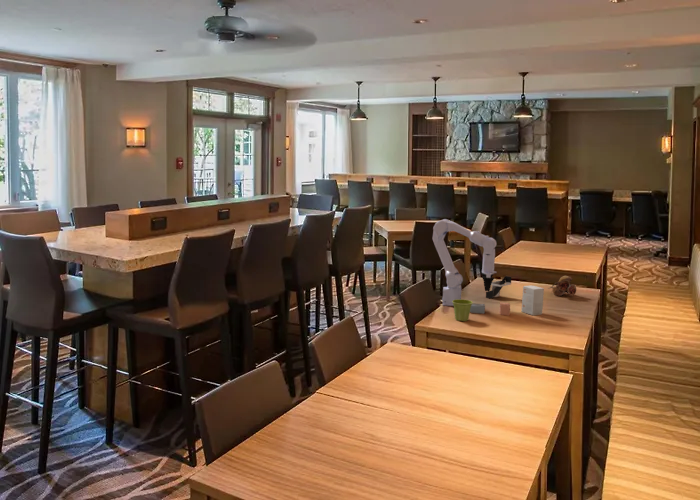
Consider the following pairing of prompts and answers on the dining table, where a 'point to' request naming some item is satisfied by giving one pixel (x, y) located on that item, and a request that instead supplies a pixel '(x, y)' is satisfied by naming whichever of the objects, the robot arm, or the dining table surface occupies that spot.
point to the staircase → (498, 287)
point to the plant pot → (462, 309)
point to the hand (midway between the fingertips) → (486, 289)
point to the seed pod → (564, 286)
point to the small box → (532, 300)
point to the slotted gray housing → (477, 308)
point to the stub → (504, 308)
